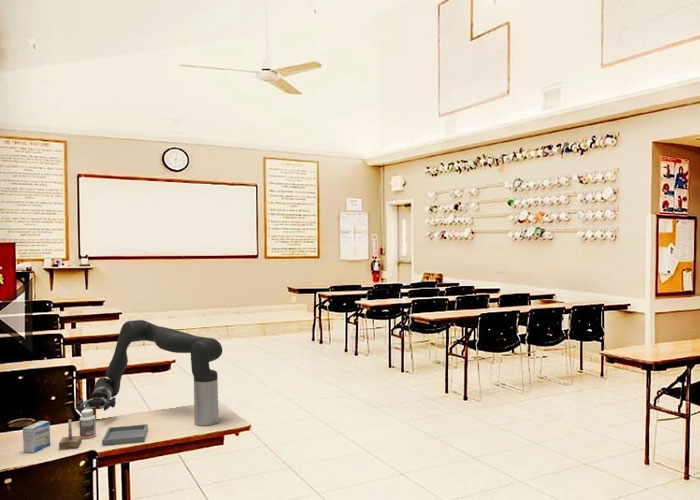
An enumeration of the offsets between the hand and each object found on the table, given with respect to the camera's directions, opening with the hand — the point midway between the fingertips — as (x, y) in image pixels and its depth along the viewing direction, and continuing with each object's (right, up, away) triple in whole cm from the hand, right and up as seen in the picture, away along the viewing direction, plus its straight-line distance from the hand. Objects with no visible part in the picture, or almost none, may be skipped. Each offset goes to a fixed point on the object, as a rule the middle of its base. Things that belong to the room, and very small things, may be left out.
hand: (92, 409), depth 218 cm
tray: (+18, -7, -12) cm, 23 cm away
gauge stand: (+2, -7, -20) cm, 22 cm away
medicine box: (-9, -8, -22) cm, 25 cm away
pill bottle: (+3, -7, -11) cm, 13 cm away
